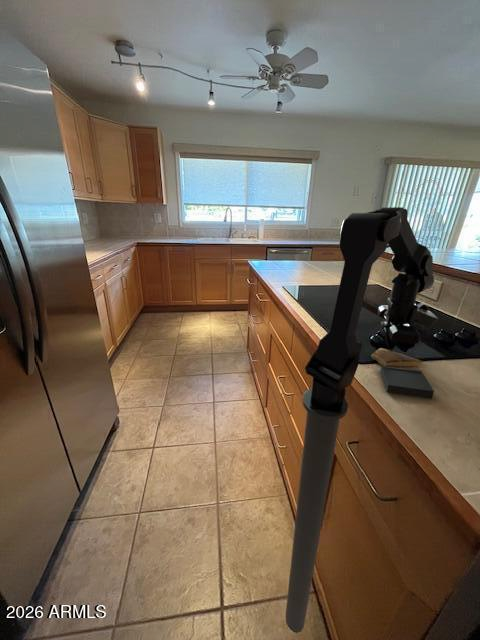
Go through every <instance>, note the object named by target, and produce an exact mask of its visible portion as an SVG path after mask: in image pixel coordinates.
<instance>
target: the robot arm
mask: <svg viewBox="0 0 480 640" xmlns="http://www.w3.org/2000/svg"><path fill="white" fill-rule="evenodd" d="M408 215H409V214H408V209H407V208H404V207H397V206H395V207H394V206H392V207H391V206H390V207H381V208H378V209H375V210H373V211H367V212H353V213H351V214H349V215H348V216H347V218H344V220H343V221H342V223H341V226H340V234H339V245H338V246H339V249H340V252H341V255H342V258H343V261H344V262H343V268H342V273H341V276H340V277H341V278H340V281H339V287H338V291H337V294H336V300H335V304H334V308H333V309H334V310H333V313H332V319H331V322H330V323H331V324H330V328H329V331H328V332H327V333H326V334H325V335H324V336H323V337H322V338H321V339H320V340H319V341H318V345H317V348H316V349H315V351H314V353H313V354H312V355H311V358H310V359H309V361H308V362H307V364H306V365H305V366H304V370H305V374H306V375H308V376H311V377H312V383H311V388H312V389H311V388H310V389H311V393H310V408H312V409H318V410H324V411H330V412H336V413H341V406H342V405H343V403H344V398H345V397H346V388H348V387H349V386H351V385H352V383H353V380H354V378H355V375H356V373H357V371H358V367H359V361H360V355H361V354H360V353H361V352H362V348H363V345H362V342H361V341H358V340H357V338H356V332H357V331H356V330H357V327H358V323H359V319H360V315H361V311H362V307H363V303H364V299H365V295H366V291H367V287H368V283H369V280H370V279H369V278H370V276H371V271H372V267H373V265H374V263H375V262H376V261H377V260H378V259H379V258H380V257H381V256H382V255H383V254H384V253H385V252H386V250H387V248H388V246H389V248H390V250H391V252H392V253H393V256H392V258H391V260H390V262H391V265H392V268H393V270H395V271H396V272H397V273H398V272H399V273H398V274H397V275H396V276H394V277H393V278H392V280H391V284H392V288H391V292H390V297H387V299H386V302H387V304H388V305H387V304H381V305H380V306H378V308H377V315H378V317H382V316H383V315H384V321H381V322H380V323H381V324H380V325H381V328H382V331H383V334H384V335H383V336H384V339H385V342H386V346H387V350H391V351H393V350H394V348H395V347H396V346H397V344H399V343H407V344H416V345H418V344H420V342H421V339H422V334H420V332H419V331H418V329H416V328H415V326H413V325H415V324H419V325H421V326H424V327H425V328H426V329H431V328H432V327H433V326H434V324H435V323H436V322H437V321H438V319H439V318H438V316H436V314H434V313H433V312H432V311H430V310H429V306H428V305H427V304H426V303H423V302H420V303H418V304H416V300H417V296H418V294H421V293H422V292H424V291H426V290H428V289H431V287H432V286H433V285H434V283H435V276H434V259H433V258H434V257H433V255H432V253H431V250H430V249H429V248H428V246H426V245H423V244H421V243H419V242H418V241H417V238H416V236H415V233H414V232H413V228H412V227H411V224H410V222H409V219H408Z"/></svg>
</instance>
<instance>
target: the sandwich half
mask: <svg viewBox="0 0 480 640" xmlns="http://www.w3.org/2000/svg"><path fill="white" fill-rule="evenodd" d="M371 359H372V360H373V361H377V363H378V364H380V365H381V366H387V367H412V366H414V367H415V366H420V365H421V363H424V360H420V359H417V358H414V357H411V356H409V355H406V354H403V353H400V352H397V351H393V350H389V349H388V348H383V347H379V348H378V349H376V350H375V351H374V352H373V353H371Z"/></svg>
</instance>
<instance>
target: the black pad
mask: <svg viewBox="0 0 480 640" xmlns="http://www.w3.org/2000/svg"><path fill="white" fill-rule="evenodd" d="M379 374H380V377H381V380H382V382H383V386H384V388H385V391H386V393H391V394H397V395H405V396H411V397H418V398H425V399H431V400H432V399H433V396H434V394H435V390H434V388H433V386H432V385H431V384H430V381H429V380H428V378H426V376H425V374H424V372H423V370H419V369H410V368H402V367H396V366H384V365H380V370H379Z"/></svg>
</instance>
